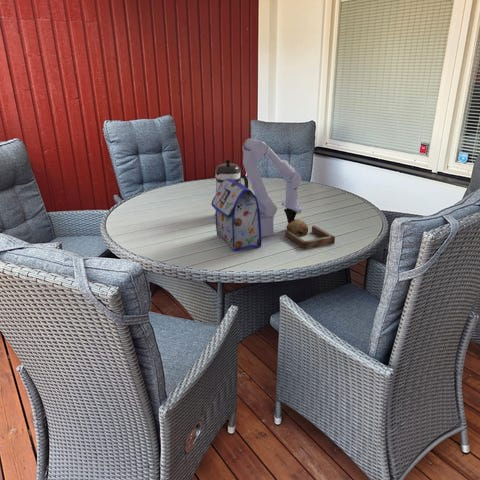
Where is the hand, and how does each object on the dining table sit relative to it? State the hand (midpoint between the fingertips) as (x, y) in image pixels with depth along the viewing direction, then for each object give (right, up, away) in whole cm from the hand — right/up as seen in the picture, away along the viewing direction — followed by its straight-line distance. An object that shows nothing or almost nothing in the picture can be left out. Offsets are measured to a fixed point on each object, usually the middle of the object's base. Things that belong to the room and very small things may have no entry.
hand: (290, 223), depth 191 cm
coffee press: (-29, +5, +18) cm, 35 cm away
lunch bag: (-26, -9, -14) cm, 30 cm away
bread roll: (+2, -4, -4) cm, 6 cm away
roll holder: (+7, -8, -13) cm, 17 cm away
